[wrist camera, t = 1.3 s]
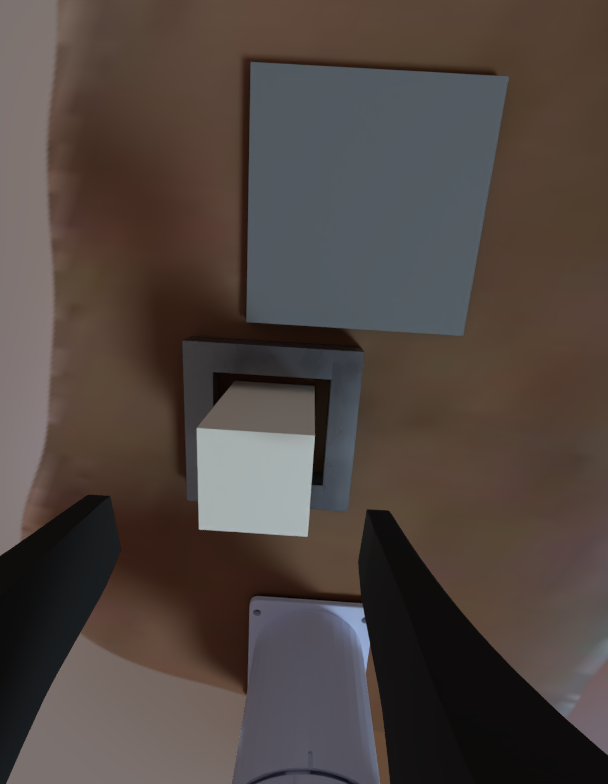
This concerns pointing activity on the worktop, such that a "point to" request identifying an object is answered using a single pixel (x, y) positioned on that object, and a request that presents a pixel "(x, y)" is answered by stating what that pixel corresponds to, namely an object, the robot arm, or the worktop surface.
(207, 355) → the square socket
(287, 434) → the square peg block
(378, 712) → the worktop surface
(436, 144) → the rubber mat
